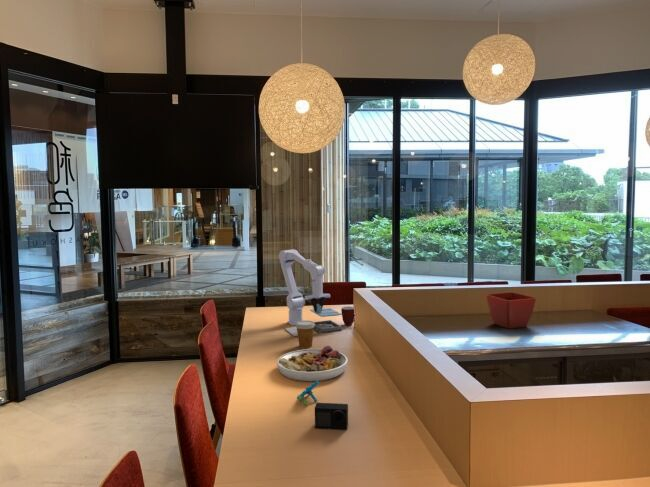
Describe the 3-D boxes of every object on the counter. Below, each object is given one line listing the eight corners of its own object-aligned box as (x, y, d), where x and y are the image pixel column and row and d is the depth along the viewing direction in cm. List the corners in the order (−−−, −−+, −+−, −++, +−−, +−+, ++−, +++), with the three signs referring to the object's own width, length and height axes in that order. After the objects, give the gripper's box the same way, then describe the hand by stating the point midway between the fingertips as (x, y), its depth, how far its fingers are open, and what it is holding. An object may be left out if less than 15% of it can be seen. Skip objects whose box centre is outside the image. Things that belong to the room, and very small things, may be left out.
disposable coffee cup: (317, 344, 242) (317, 320, 241) (311, 349, 233) (310, 325, 232) (300, 342, 245) (299, 319, 244) (293, 348, 236) (292, 324, 235)
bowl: (323, 389, 184) (323, 370, 184) (262, 375, 200) (262, 357, 200) (359, 366, 210) (359, 348, 209) (303, 355, 226) (303, 339, 225)
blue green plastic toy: (308, 388, 181) (321, 375, 175) (318, 401, 179) (331, 388, 174) (289, 402, 173) (302, 389, 167) (299, 415, 171) (312, 402, 165)
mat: (284, 329, 270) (284, 328, 270) (306, 326, 275) (306, 325, 275) (294, 336, 255) (294, 335, 255) (316, 333, 260) (316, 332, 260)
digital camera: (314, 430, 152) (313, 409, 151) (316, 422, 157) (316, 402, 156) (346, 432, 150) (346, 410, 150) (348, 424, 156) (348, 403, 155)
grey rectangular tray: (311, 326, 276) (311, 322, 276) (330, 323, 281) (330, 320, 281) (321, 333, 261) (321, 329, 261) (341, 330, 266) (341, 326, 266)
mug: (361, 325, 277) (361, 308, 276) (353, 328, 270) (353, 310, 269) (346, 322, 283) (346, 305, 282) (338, 325, 277) (338, 308, 276)
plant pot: (512, 319, 283) (512, 291, 281) (536, 327, 265) (536, 297, 263) (485, 322, 277) (485, 294, 275) (507, 331, 259) (508, 300, 257)
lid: (310, 311, 275) (310, 302, 275) (329, 309, 280) (329, 301, 280) (320, 317, 260) (320, 308, 260) (341, 315, 265) (341, 306, 265)
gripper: (307, 289, 261) (308, 314, 262) (332, 287, 266) (332, 311, 267) (303, 287, 267) (303, 311, 268) (327, 285, 273) (327, 308, 274)
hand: (317, 311), depth 268 cm, fingers closed on lid, 2 cm apart
